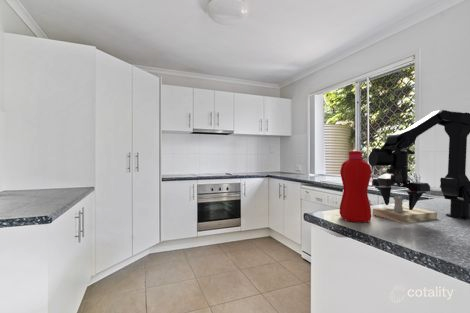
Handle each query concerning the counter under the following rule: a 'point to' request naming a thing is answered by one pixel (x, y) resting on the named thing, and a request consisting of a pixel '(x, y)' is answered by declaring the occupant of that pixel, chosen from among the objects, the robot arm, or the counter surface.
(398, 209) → the rook chess piece
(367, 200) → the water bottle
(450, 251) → the counter surface
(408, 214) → the socket block
